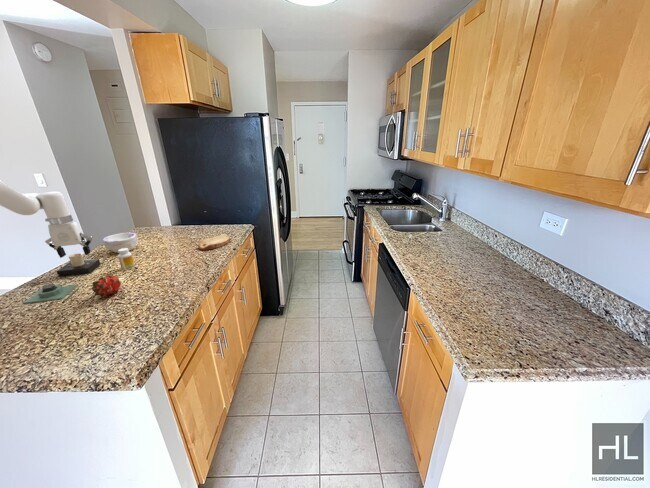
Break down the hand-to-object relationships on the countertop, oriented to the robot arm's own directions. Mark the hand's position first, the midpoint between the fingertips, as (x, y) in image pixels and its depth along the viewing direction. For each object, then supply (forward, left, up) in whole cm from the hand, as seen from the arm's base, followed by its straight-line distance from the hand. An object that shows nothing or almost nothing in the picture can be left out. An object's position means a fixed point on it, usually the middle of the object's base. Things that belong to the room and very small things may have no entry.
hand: (75, 255), depth 121 cm
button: (+3, -25, -4) cm, 26 cm away
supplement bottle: (+21, -3, -8) cm, 22 cm away
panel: (0, 0, -8) cm, 8 cm away
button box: (+3, -25, -8) cm, 27 cm away
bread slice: (+58, +19, -8) cm, 62 cm away
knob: (0, 0, -5) cm, 5 cm away
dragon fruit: (+23, -27, -8) cm, 36 cm away
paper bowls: (+9, +24, -8) cm, 27 cm away
